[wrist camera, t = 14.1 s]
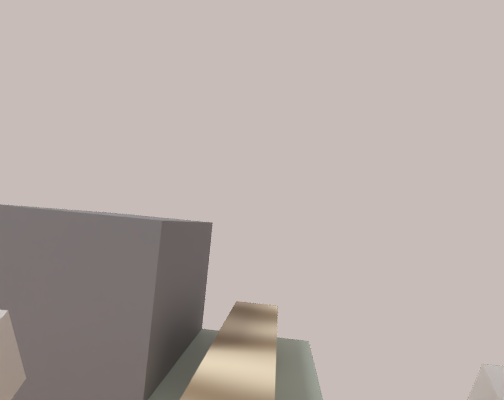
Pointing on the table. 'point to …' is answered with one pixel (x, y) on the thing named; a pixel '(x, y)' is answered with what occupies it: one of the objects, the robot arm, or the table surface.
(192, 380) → the beech bar
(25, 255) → the step stand
